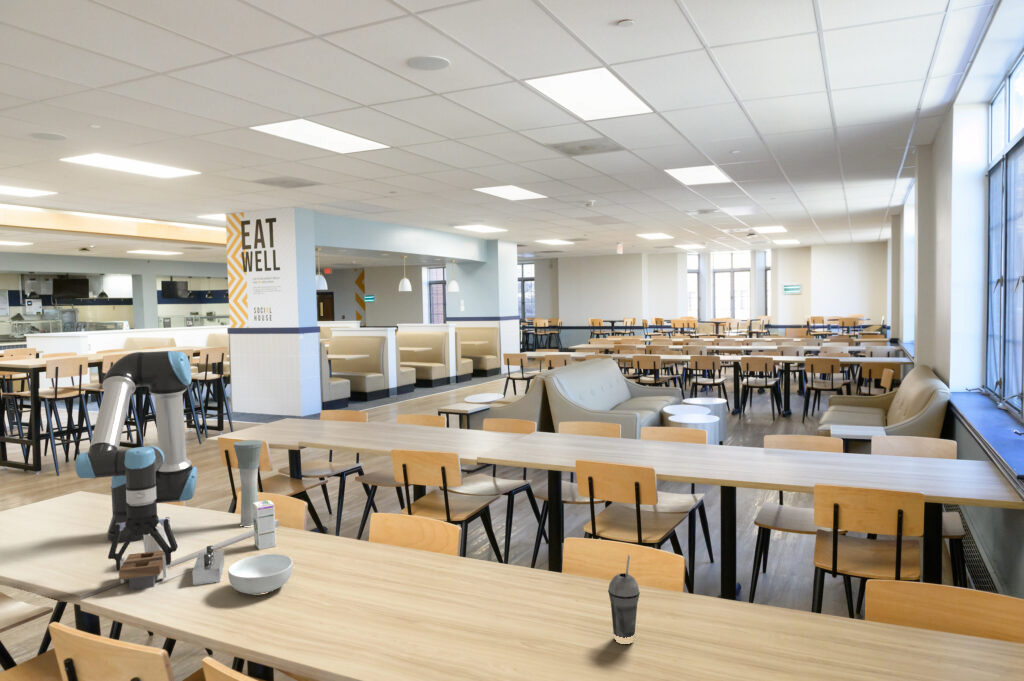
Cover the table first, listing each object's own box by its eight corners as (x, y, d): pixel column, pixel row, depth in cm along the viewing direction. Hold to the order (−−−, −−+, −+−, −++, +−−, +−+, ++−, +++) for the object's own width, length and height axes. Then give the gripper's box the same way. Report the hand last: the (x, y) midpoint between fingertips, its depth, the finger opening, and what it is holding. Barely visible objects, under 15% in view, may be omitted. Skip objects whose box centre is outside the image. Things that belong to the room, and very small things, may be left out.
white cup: (178, 557, 210) (177, 526, 209) (162, 567, 202) (161, 534, 201) (154, 556, 210) (153, 525, 210) (138, 566, 203) (137, 534, 202)
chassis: (199, 566, 202) (198, 543, 202) (224, 563, 204) (223, 540, 204) (193, 585, 188) (192, 561, 188) (219, 581, 190) (219, 558, 190)
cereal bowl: (215, 597, 180) (214, 571, 180) (258, 574, 196) (257, 550, 195) (265, 606, 174) (264, 580, 174) (305, 581, 190) (305, 557, 190)
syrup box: (276, 546, 218) (275, 503, 218) (257, 550, 215) (256, 506, 214) (272, 541, 223) (270, 499, 222) (253, 545, 220) (252, 502, 219)
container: (240, 520, 246) (238, 440, 244) (267, 519, 247) (265, 439, 245) (232, 529, 236) (230, 445, 235) (260, 527, 237) (258, 444, 236)
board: (129, 562, 195) (129, 554, 195) (167, 558, 198) (167, 549, 198) (119, 579, 183) (118, 570, 183) (159, 574, 186) (159, 565, 186)
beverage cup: (605, 633, 158) (604, 550, 157) (635, 631, 159) (634, 549, 158) (612, 648, 151) (612, 562, 150) (643, 647, 151) (643, 561, 150)
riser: (136, 577, 194) (135, 564, 194) (159, 574, 196) (158, 561, 196) (129, 589, 185) (129, 575, 185) (153, 586, 187) (153, 572, 187)
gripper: (92, 510, 182) (96, 589, 183) (183, 501, 190) (186, 577, 191) (99, 502, 189) (103, 579, 191) (187, 494, 197) (189, 568, 198)
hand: (144, 578), depth 191 cm, fingers closed on board, 10 cm apart
